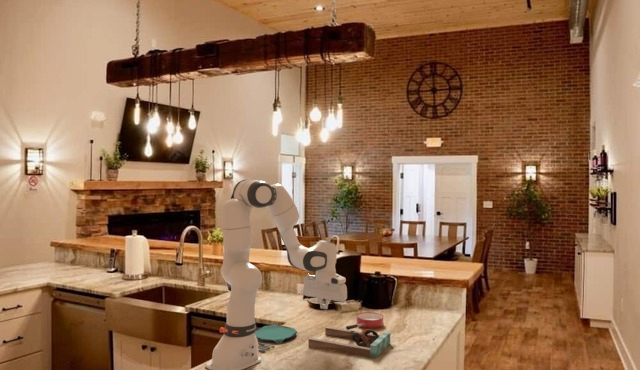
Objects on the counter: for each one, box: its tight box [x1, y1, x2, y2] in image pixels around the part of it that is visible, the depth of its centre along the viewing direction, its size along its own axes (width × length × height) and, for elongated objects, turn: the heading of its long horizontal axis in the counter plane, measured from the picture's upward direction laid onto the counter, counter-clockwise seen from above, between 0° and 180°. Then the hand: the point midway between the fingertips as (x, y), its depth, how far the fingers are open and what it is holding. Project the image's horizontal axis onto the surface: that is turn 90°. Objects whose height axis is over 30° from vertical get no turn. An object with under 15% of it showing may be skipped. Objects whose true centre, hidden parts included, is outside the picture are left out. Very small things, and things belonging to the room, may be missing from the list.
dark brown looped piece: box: [351, 328, 380, 348], centre depth 213 cm, size 12×10×8 cm
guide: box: [307, 326, 391, 359], centre depth 215 cm, size 19×30×5 cm, turn 64°
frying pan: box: [345, 311, 384, 330], centre depth 235 cm, size 32×13×6 cm, turn 157°
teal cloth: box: [255, 324, 298, 353], centre depth 221 cm, size 20×30×2 cm, turn 152°
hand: (323, 308), depth 219 cm, fingers closed
